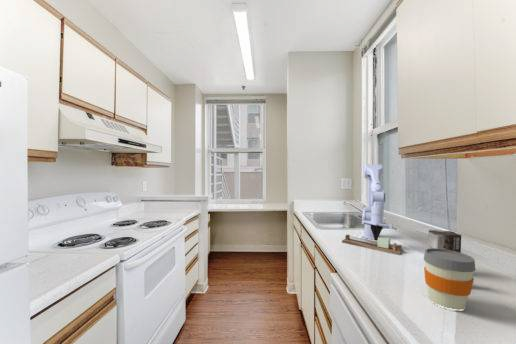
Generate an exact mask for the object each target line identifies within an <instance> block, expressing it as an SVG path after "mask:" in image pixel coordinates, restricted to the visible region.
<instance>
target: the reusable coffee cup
mask: <svg viewBox="0 0 516 344" xmlns="http://www.w3.org/2000/svg"><path fill="white" fill-rule="evenodd" d="M423 260H424V265H425V266H424V268H423V272H424V281H425V284H426V287H427V297H428V300H429V299H430V300H431V301H433V302H434V303H436V304H439V305H441V306H444V307H447V308H452V309H458V310H459V309H464V308H465V309H466V306H467V302H468V298H469V296H470V295H471V292H472V289H473V284H474V281H475V279H474V277H473V275H474V272H475V271H476V262H475V260H476V259H475V258H474V257H472V256H470V255H468V254H465V253H463V252H461V253H460V252H456V251H451V250H446V249H438V248H429V249H428V248H426V249H424V255H423ZM430 300H429V301H430Z"/></svg>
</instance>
